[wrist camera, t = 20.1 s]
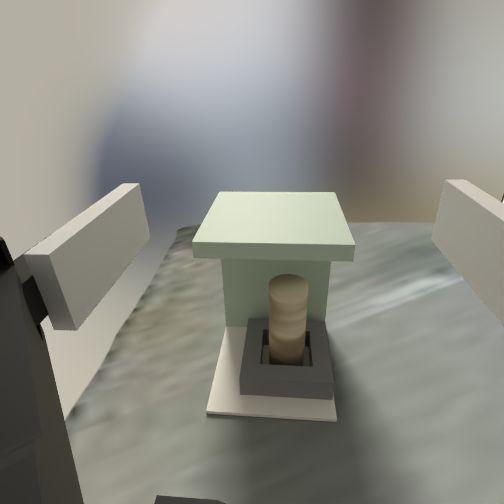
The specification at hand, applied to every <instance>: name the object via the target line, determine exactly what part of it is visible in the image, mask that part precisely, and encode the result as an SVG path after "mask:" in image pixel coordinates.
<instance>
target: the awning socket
mask: <svg viewBox="0 0 504 504" xmlns="http://www.w3.org/2000/svg"><path fill="white" fill-rule="evenodd" d="M192 247H193V256H194V258H219V259H221V263H222V276H223V289H224V302H225V315H226V330H225V334H224V338H223V342H222V346H221V351H220V355H219V359H218V363H217V368H216V372H215V376H214V380H213V384H212V389H211V393H210V397H209V401H208V406H207V410H206V413H207V414H221V415H237V416H252V417H267V418H283V419H298V420H313V421H329V422H337V416H336V409H335V402H334V395H333V390H334V377H333V371H332V364H331V357H330V351H329V344H328V338H327V331H326V325H325V316H326V306H327V295H328V285H329V275H330V264H331V261H351V262H353V258H354V251H355V243H354V240H353V238H352V235H351V233H350V230H349V228H348V225H347V223H346V220H345V218H344V215H343V212H342V210H341V207H340V205H339V202H338V200H337V197H336V195H335V193H334V192H332V193H331V192H219V194H218V196H217V197H216V199H215V201H214V203H213V205H212V206H211V208H210V210H209V212H208V214H207V216H206V217H205V219H204V221H203V223H202V224H201V226H200V228H199V230H198V232H197V233H196V235H195V237H194V239H193V241H192ZM281 274H294V275H298V276H301V277H303V278H304V279H305V280H306V281H307V282H308V300H307V316H306V332H305V348H304V364H303V366H288V365H269V282H270V280H271V279H272V278H273V277H275V276H278V275H281Z"/></svg>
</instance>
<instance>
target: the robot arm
mask: <svg viewBox="0 0 504 504" xmlns="http://www.w3.org/2000/svg"><path fill="white" fill-rule="evenodd" d="M149 239H150V234H149V229H148V225H147V220H146V215H145V210H144V205H143V200H142V195H141V190H140V185H139V183H138V184H122V185H120V186H119V187H118V188H116V189H115V190H113V191H112V192H110V193H109V194H108V195H106V196H105V197H103V198H102V199H101V200H99V201H98V202H96V203H95V204H94V205H92V206H91V207H89V208H88V209H87V210H85V211H84V212H82V213H81V214H80V215H78V216H77V217H75V218H74V219H73V220H71V221H70V222H68V223H67V224H65V225H64V226H63V227H61V228H60V229H58V230H57V231H55V232H54V233H53V234H51V235H49V236H48V237H46V238H45V239H44V240H42V241H41V242H40V243H38V244H36V245H35V246H34V247H33V248H31V249H30V250H28V251H27V252H25V253H24V254H22V255H21V256H20V257H18V258H17V259H15V260H14V261H13V259H12V257H11V255H10V253H9V250H8V248H7V245H6V243H5V241H4V239H3V238H2V237H0V504H84V502H83V498H82V494H81V489H80V485H79V481H78V476H77V472H76V468H75V464H74V459H73V455H72V451H71V446H70V442H69V438H68V434H67V429H66V425H65V421H64V416H63V412H62V408H61V403H60V399H59V395H58V391H57V387H56V382H55V378H54V374H53V369H52V365H51V361H50V356H49V352H48V348H47V344H46V339H45V335H44V332H43V329H42V327H41V324H40V323H41V321H42V320H43V319H44V318H45V317H46V316H47V315H48V316H49V318H50V321H51V323H52V326H53V328H54V330H78V328H79V327H80V326H81V325H82V323H83V322H84V321H85V320H86V318H87V317H88V316H89V315H90V313H91V312H92V311H93V309H94V308H95V307H96V306H97V305H98V303H99V302H100V301H101V299H102V298H103V297H104V296H105V294H106V293H107V292H108V291H109V290H110V288H111V287H112V286H113V285H114V283H115V282H116V281H117V280H118V278H119V277H120V276H121V275H122V273H123V272H124V271H125V270H126V268H127V267H128V265H130V263H131V262H132V261H133V260H134V258H135V257H136V256H137V255H138V253H139V252H140V251H141V249H142V248H143V247H144V246H145V244H146V243H147V242H148V241H149ZM431 240H432V241H433V242H434V244H435V245H436V246H437V247H438V248H439V250H440V251H441V252H442V253H443V254H444V256H445V257H446V258H447V259H448V260H449V262H450V263H451V264H452V265H453V266H454V267H455V269H456V270H457V271H458V272H459V273H460V275H461V276H462V277H463V278H464V279H465V281H466V282H467V283H468V284H469V285H470V287H471V288H472V289H473V290H474V291H475V292H476V294H477V295H478V296H479V297H480V298H481V300H482V301H483V302H484V303H485V304H486V306H487V307H488V308H489V309H490V310H491V312H492V313H493V314H494V315H495V316H496V318H497V319H498V320H499V321H500V322H501V323H502V325H503V326H504V204H503V203H501V202H500V201H498V200H497V199H495V198H493V197H492V196H490V195H488V194H487V193H485V192H484V191H482V190H480V189H479V188H478V187H476V186H474V185H473V184H471V183H470V182H468V181H466V180H445V183H444V188H443V192H442V196H441V200H440V205H439V209H438V214H437V218H436V222H435V226H434V230H433V234H432V239H431ZM154 504H225V503H223V502H220V501H218V500H208V499H196V498H183V497H171V496H159V495H157V497H156V500H155V503H154Z"/></svg>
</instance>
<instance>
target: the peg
mask: <svg viewBox="0 0 504 504" xmlns="http://www.w3.org/2000/svg"><path fill="white" fill-rule="evenodd" d="M307 300H308V282H307V281H306V280H305V279H304V278H303V277H301V276H298V275H294V274H281V275H278V276H275V277H273V278H272V279H271V280H270V282H269V365H288V366H303V364H304V348H305V332H306V316H307Z"/></svg>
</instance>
